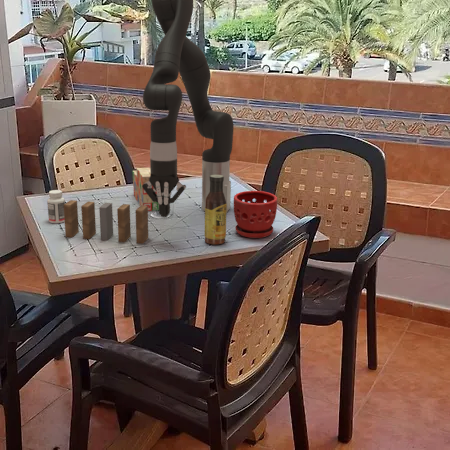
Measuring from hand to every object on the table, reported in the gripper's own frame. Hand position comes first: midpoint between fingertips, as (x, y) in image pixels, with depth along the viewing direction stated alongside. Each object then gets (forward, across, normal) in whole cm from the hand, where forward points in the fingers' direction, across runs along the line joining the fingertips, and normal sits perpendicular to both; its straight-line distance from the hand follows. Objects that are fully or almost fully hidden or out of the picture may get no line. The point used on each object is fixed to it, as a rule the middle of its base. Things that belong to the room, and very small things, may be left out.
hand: (164, 216), depth 188 cm
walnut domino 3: (+8, +12, 0) cm, 15 cm away
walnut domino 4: (+8, +7, 0) cm, 11 cm away
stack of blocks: (+8, +18, -39) cm, 44 cm away
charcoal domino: (+8, +18, 0) cm, 20 cm away
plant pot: (+8, -24, -14) cm, 29 cm away
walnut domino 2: (+8, +23, 0) cm, 25 cm away
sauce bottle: (+8, -14, -4) cm, 17 cm away
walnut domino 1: (+8, +29, 0) cm, 30 cm away
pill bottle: (+8, +39, -11) cm, 41 cm away
